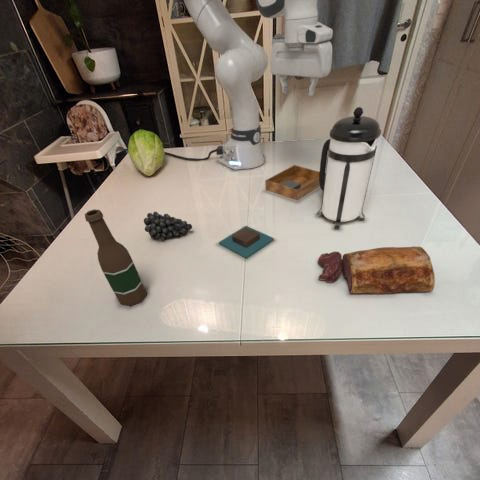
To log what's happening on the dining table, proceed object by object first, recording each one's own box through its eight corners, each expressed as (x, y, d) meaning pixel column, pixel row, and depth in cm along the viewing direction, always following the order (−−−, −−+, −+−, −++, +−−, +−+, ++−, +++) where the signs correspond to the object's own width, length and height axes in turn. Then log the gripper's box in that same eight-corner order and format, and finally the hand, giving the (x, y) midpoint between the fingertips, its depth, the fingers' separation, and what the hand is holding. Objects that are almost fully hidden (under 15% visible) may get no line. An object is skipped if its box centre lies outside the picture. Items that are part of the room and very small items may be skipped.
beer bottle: (121, 289, 82) (78, 205, 64) (149, 285, 82) (114, 201, 64) (115, 308, 77) (67, 224, 59) (145, 305, 76) (106, 219, 59)
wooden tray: (265, 191, 114) (265, 180, 111) (293, 175, 121) (294, 164, 118) (297, 202, 106) (297, 190, 103) (325, 184, 113) (326, 173, 110)
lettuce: (171, 184, 137) (139, 193, 138) (166, 148, 146) (136, 157, 148) (158, 157, 124) (122, 168, 125) (154, 119, 133) (121, 129, 134)
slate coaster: (277, 190, 112) (277, 185, 111) (288, 185, 115) (288, 179, 113) (290, 195, 109) (290, 189, 107) (300, 189, 111) (300, 183, 110)
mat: (219, 244, 92) (218, 242, 92) (246, 227, 97) (246, 225, 97) (246, 258, 86) (246, 256, 85) (273, 240, 91) (273, 238, 91)
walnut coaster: (232, 241, 91) (231, 235, 90) (246, 232, 94) (245, 227, 92) (246, 248, 88) (245, 242, 87) (260, 239, 91) (259, 233, 89)
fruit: (189, 204, 92) (141, 207, 93) (188, 225, 89) (138, 228, 89) (194, 223, 100) (150, 226, 101) (193, 243, 97) (148, 246, 97)
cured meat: (311, 256, 84) (314, 235, 79) (402, 249, 83) (410, 227, 78) (324, 301, 72) (328, 279, 67) (431, 294, 70) (443, 271, 65)
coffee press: (368, 208, 99) (395, 98, 77) (359, 233, 90) (387, 116, 68) (316, 201, 105) (327, 98, 83) (303, 224, 96) (312, 115, 73)
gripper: (265, 35, 87) (266, 93, 97) (324, 33, 76) (318, 99, 86) (279, 32, 89) (278, 89, 100) (338, 30, 79) (331, 94, 89)
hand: (297, 94), depth 93 cm, fingers open, 8 cm apart
